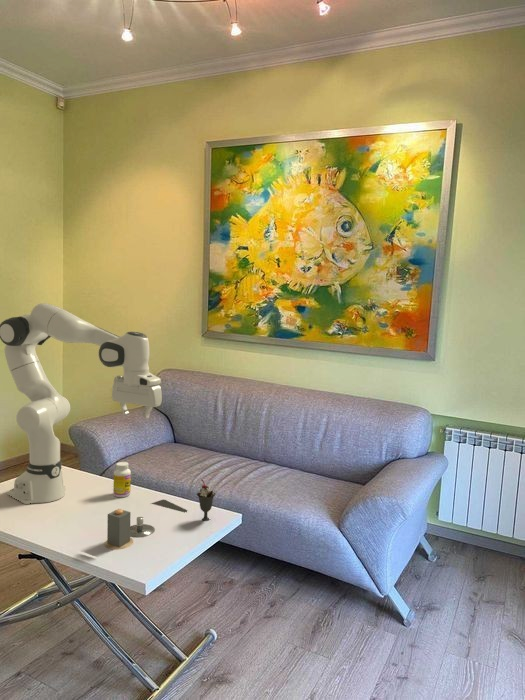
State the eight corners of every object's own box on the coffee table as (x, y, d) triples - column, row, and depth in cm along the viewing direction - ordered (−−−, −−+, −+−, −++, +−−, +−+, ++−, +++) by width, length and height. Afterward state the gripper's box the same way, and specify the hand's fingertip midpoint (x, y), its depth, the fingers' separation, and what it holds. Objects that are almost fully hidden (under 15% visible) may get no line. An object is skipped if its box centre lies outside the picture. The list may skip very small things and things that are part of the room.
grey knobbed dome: (118, 534, 170) (118, 520, 170) (138, 523, 179) (138, 509, 179) (141, 541, 166) (141, 527, 165) (160, 530, 175) (161, 516, 174)
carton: (107, 543, 163) (107, 511, 162) (118, 537, 167) (118, 506, 166) (119, 547, 160) (119, 515, 159) (130, 541, 165) (130, 509, 164)
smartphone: (173, 516, 185) (148, 503, 195) (173, 518, 185) (148, 506, 195) (189, 510, 191) (163, 498, 201) (188, 512, 191) (163, 501, 201)
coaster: (98, 546, 162) (98, 544, 162) (118, 535, 170) (118, 533, 170) (119, 553, 158) (119, 551, 158) (139, 542, 166) (139, 540, 166)
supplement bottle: (125, 498, 201) (126, 467, 200) (110, 496, 202) (110, 465, 201) (133, 492, 207) (133, 462, 206) (118, 490, 209) (118, 460, 207)
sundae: (196, 517, 186) (197, 477, 185) (214, 517, 187) (215, 477, 185) (195, 525, 180) (196, 483, 178) (214, 525, 180) (215, 484, 179)
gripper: (107, 376, 182) (107, 413, 183) (153, 381, 173) (152, 421, 174) (120, 374, 188) (119, 410, 189) (164, 379, 179) (164, 418, 180)
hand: (136, 416), depth 182 cm, fingers open, 8 cm apart
